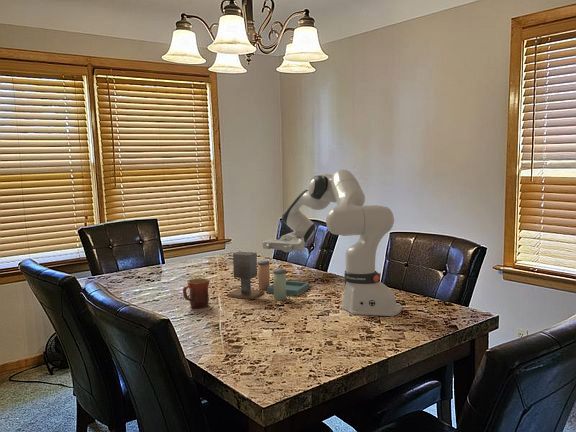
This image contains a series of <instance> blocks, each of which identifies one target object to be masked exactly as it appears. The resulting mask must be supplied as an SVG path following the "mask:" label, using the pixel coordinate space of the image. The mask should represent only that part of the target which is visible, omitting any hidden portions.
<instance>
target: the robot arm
mask: <svg viewBox="0 0 576 432" xmlns="http://www.w3.org/2000/svg"><path fill="white" fill-rule="evenodd" d="M365 200H366V196H365V193H364V191H363V189H362V187H361V185H360V183H359V181H358V179H357V178H356V177H355V175H354V174H353V173H352V172H351V171H349V170H348V169H339V170H337V171H335V172H334V173H333V175H332V174H330V173H323V174H321V175H314V176H313V177H312V178H311V179H310V182H309V185H308V189H305V190H303V191H302V192H301V193H299V194H298V195H297V197H296V198H295V199H294V201H293V202H292V203H291V204H290V205H289V207H288V208H286V210H285V211H283V213H282V215H281V219H282V220H281V221H282V223H283V224H284V225H286V226H287V227H288V228H290V229H291V230H292V232H289V233H286V234H284V235H282V236H280V238H279V239H274V238H273V239H265V240H263V241H262V244H261V245H262V248H263V249H266V250H279V251H282V252H284V253H291V252H303V251H304V250H305V243H307V242H309V241H310V240H311V239H312V238H313V236H314V235H315V234H316V224H315V223H314V222H313V221H312V220H311V219H310V218H309V217H307V216H306V215H305V214H304V213H302V211H301V210H300V208H301V207H302V205H303V206H306V207H307V208H310V209H312V210H316V211H321V210H325V209H327V207H329V205H330V204H331V203H336V206H335V207H333V208H332V209H330V210H329V211H328V212H327V215H326V219H325V222H326V223H325V224H326V227H327V229H328V231H329V232H330V233H331V234H332V235H335V236H343V237H347V236H359V239H358V240H357V241H356V242H355V243H354V244H352V245H350V246H349V247H348V248H347V249H346V251H345V270H344V273H343V274H344V285H345V286H344V294H343V301H342V303H341V308H342V309H343V310H345V311H347V312H349V314H350V315H363V316H380V317H381V316H382V317H393V316H397V315H399V314H400V313H402V310H403V307H402V304H401V303H398V302H397V300H396V296H395V293H394V291H393V290H392V289H391V288H390V287H388V286H387V285H385V283H384V282H382V281H381V274H382V273H381V272H378V271H376V256H377V255H376V254H377V250H378V246H379V244H380V242H381V241H382V239H383V238H384V237H385V236H386V234H387V233H389V232H390V231H391V230H392V228H393V226H394V223H395V217H394V214H393V212H392V210H391V209H390V207H388V206H383V205H364V204H365V202H366V201H365Z"/></svg>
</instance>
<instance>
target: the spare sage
mask: <svg viewBox="0 0 576 432" xmlns="http://www.w3.org/2000/svg"><path fill="white" fill-rule="evenodd" d="M272 272H273V284H274V294H273V299H275V300H274V301H285V300H287V295H286V281H287V275H286V274H287V270H286V269H284V268H276V269H273V271H272ZM284 299H285V300H284Z"/></svg>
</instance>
